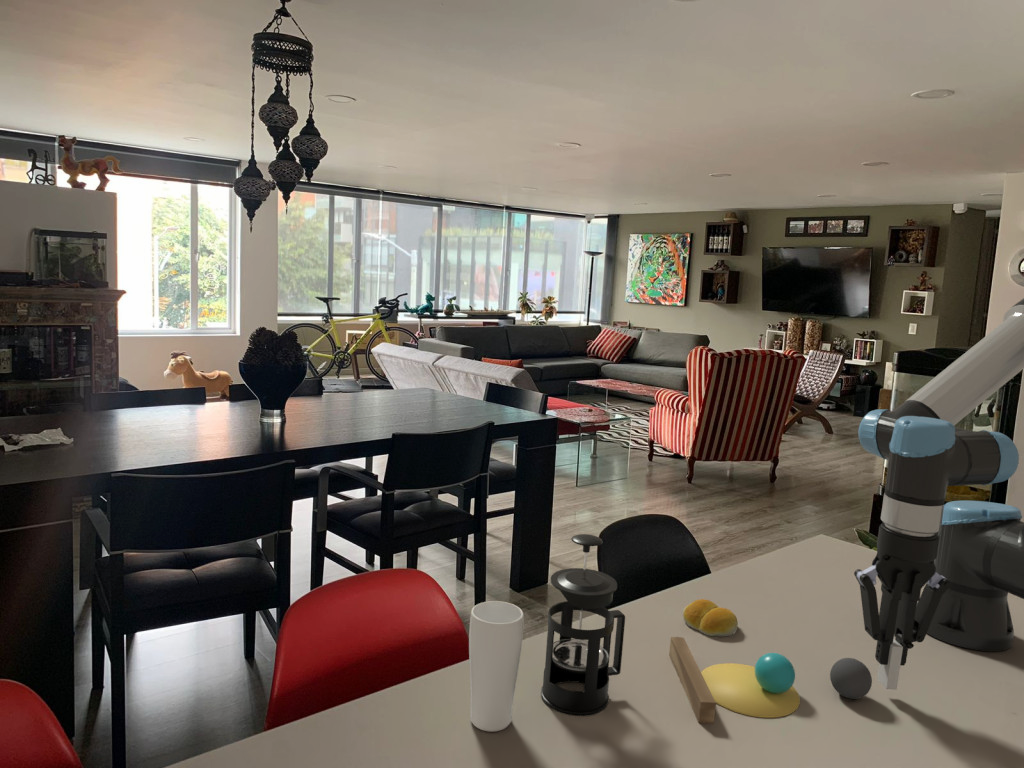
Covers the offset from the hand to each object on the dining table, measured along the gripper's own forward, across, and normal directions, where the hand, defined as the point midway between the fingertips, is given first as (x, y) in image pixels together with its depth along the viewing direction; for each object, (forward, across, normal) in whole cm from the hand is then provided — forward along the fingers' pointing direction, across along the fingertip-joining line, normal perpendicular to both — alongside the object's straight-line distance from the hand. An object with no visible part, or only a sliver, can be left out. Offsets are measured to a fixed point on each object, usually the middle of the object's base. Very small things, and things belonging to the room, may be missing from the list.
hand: (886, 684), depth 110 cm
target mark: (+2, +20, 0) cm, 20 cm away
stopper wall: (+2, +28, 0) cm, 29 cm away
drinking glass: (+2, +57, +11) cm, 58 cm away
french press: (+2, +45, +4) cm, 45 cm away
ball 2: (-1, +6, 0) cm, 6 cm away
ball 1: (-1, +16, 0) cm, 16 cm away
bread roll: (+2, +20, -20) cm, 29 cm away
